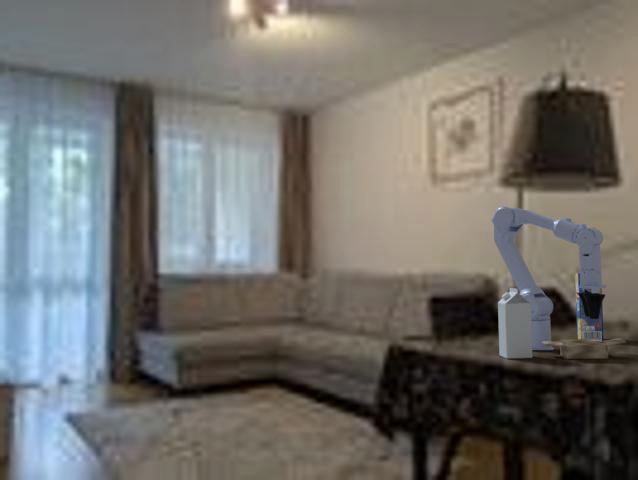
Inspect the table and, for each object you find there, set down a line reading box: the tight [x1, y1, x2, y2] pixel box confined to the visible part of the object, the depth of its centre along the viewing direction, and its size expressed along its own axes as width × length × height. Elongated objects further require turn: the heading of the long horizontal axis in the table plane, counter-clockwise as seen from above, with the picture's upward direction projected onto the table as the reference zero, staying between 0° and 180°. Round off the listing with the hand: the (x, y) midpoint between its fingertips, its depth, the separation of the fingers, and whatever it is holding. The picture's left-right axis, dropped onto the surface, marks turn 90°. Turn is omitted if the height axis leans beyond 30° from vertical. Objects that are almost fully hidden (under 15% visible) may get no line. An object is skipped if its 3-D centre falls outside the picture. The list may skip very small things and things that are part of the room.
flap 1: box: [566, 342, 611, 346], centre depth 187 cm, size 10×4×1 cm, turn 79°
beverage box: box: [574, 272, 605, 343], centre depth 233 cm, size 7×11×22 cm, turn 166°
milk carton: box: [497, 287, 533, 360], centre depth 196 cm, size 7×7×19 cm
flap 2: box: [602, 337, 627, 346], centre depth 192 cm, size 4×7×1 cm, turn 169°
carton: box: [542, 338, 609, 360], centre depth 196 cm, size 16×13×4 cm
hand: (591, 317), depth 201 cm, fingers open, 7 cm apart
